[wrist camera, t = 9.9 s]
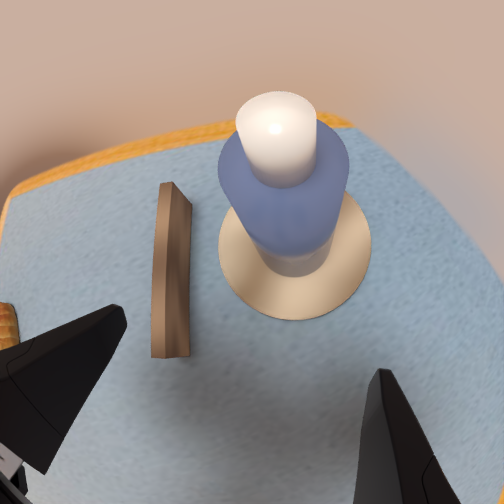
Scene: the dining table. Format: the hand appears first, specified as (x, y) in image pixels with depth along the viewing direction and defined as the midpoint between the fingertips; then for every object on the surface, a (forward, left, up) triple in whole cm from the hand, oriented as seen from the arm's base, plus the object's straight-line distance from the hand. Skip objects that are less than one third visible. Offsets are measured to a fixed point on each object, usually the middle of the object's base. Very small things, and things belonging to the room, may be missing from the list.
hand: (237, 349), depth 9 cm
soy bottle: (+2, -7, -10) cm, 13 cm away
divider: (+8, 0, -11) cm, 14 cm away
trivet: (+2, -7, -11) cm, 13 cm away
